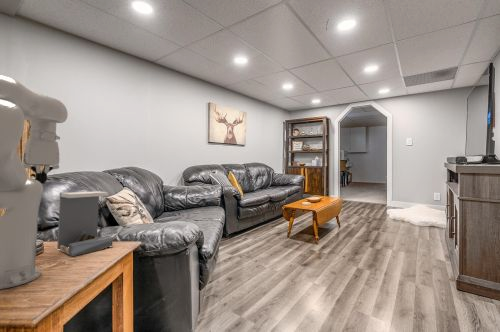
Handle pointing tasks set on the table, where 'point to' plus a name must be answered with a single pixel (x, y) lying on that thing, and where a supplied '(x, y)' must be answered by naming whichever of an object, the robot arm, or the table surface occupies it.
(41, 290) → the table surface
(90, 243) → the long grey base block
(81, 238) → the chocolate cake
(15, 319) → the table surface
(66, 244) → the upright grey panel
